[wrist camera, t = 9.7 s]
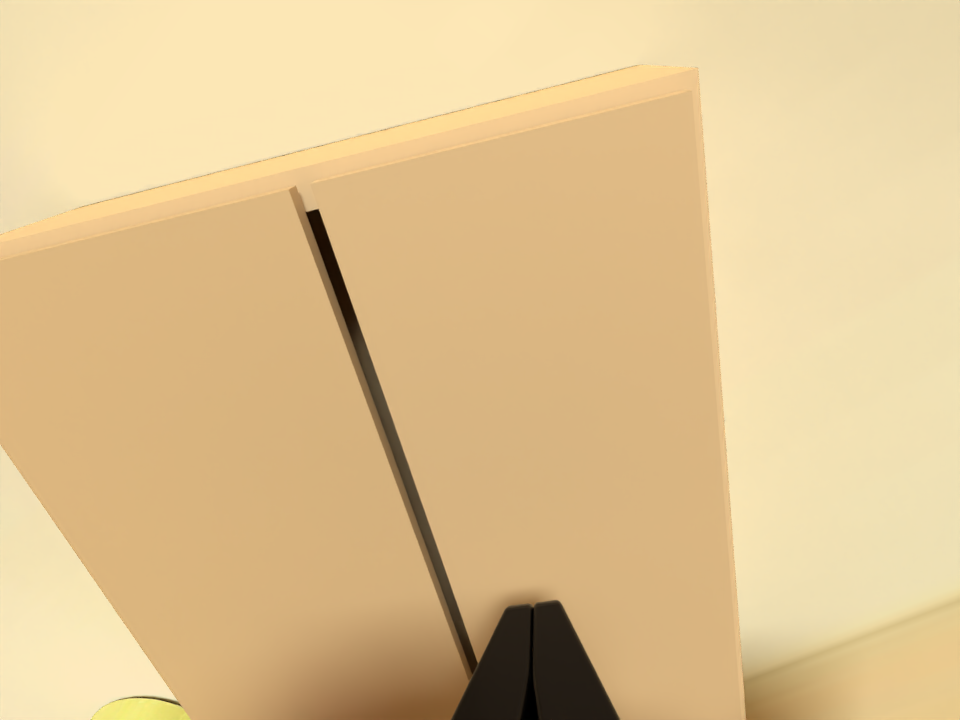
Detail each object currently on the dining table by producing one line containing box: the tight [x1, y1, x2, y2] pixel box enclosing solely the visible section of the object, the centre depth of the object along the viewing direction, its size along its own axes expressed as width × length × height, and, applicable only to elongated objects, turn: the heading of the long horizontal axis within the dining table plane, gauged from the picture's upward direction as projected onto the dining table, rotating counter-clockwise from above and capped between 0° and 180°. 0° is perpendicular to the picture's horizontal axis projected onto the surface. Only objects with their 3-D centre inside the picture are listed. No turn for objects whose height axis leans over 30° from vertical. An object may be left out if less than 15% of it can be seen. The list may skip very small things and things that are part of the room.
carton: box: [0, 65, 746, 720], centre depth 13 cm, size 12×14×5 cm
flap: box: [310, 90, 742, 720], centre depth 11 cm, size 5×14×1 cm, turn 13°
